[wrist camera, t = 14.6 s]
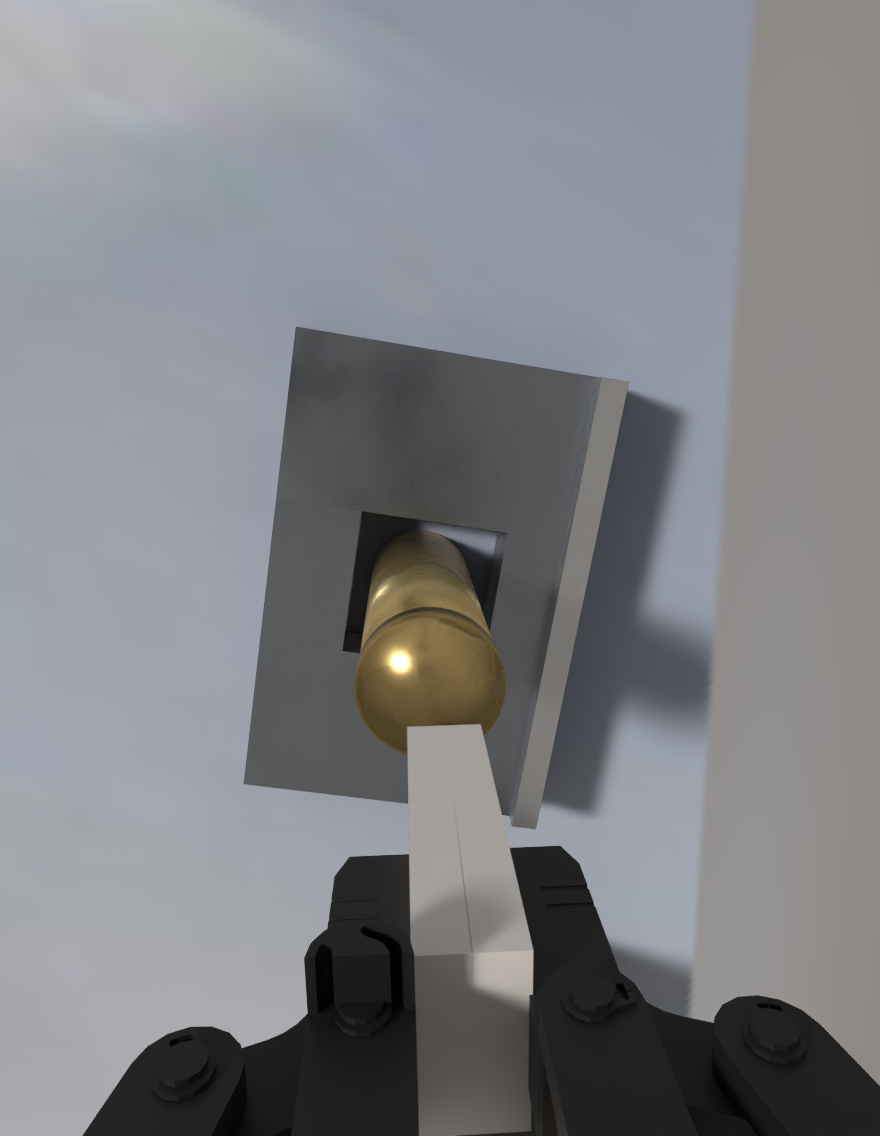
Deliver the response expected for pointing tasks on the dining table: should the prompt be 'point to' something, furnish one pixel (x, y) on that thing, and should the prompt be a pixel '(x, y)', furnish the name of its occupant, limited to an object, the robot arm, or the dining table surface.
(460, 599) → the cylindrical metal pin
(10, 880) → the dining table surface
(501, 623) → the jig
